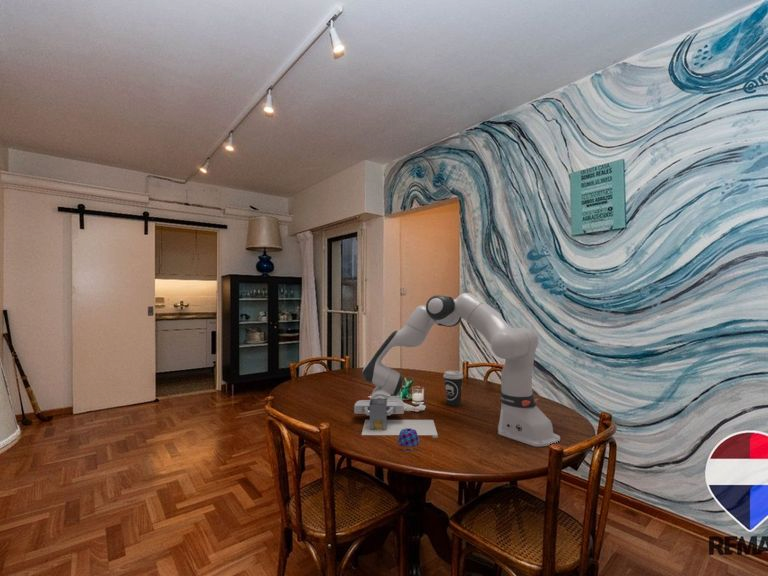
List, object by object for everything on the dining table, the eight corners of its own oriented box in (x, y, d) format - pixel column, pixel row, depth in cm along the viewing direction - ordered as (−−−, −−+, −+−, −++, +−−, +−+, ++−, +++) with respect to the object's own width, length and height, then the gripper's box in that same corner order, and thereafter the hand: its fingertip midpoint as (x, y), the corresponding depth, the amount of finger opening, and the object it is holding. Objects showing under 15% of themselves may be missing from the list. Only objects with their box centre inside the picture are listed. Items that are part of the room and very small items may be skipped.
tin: (370, 423, 143) (370, 398, 144) (387, 424, 143) (386, 398, 143) (369, 430, 137) (369, 403, 137) (386, 430, 137) (386, 403, 137)
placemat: (433, 422, 147) (433, 419, 147) (437, 437, 131) (437, 435, 131) (365, 422, 148) (365, 419, 148) (361, 437, 132) (361, 434, 132)
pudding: (402, 436, 134) (402, 422, 134) (431, 443, 127) (431, 429, 127) (384, 448, 124) (384, 432, 124) (415, 456, 117) (414, 440, 117)
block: (373, 425, 142) (373, 414, 142) (383, 425, 142) (383, 414, 142) (373, 428, 138) (373, 418, 138) (383, 428, 138) (383, 418, 138)
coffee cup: (465, 407, 166) (465, 374, 167) (445, 407, 167) (444, 374, 167) (461, 401, 176) (461, 370, 176) (442, 401, 176) (441, 370, 177)
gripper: (355, 395, 153) (351, 405, 140) (403, 395, 153) (404, 405, 139) (355, 410, 153) (351, 421, 140) (403, 410, 153) (404, 421, 139)
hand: (378, 413), depth 139 cm, fingers closed on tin, 6 cm apart
